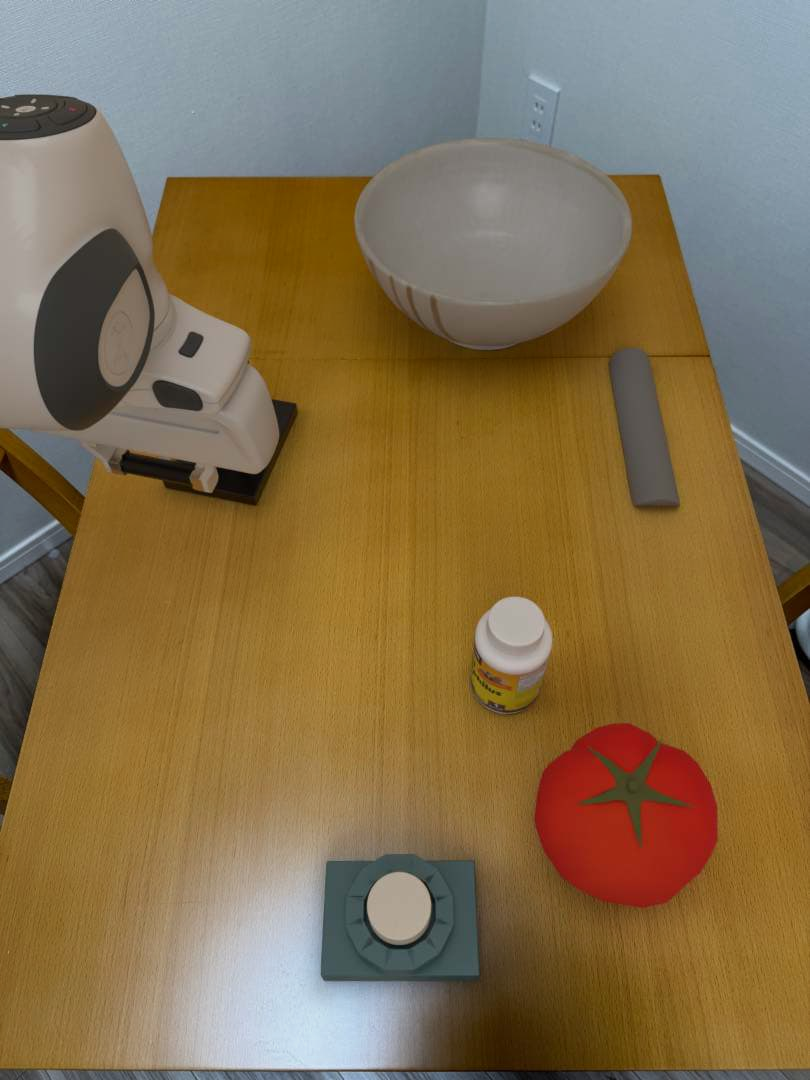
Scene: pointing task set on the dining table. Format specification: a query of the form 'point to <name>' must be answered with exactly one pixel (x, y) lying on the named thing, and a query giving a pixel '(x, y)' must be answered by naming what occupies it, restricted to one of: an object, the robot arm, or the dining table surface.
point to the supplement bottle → (510, 655)
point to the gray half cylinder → (642, 430)
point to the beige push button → (399, 908)
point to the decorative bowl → (491, 238)
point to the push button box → (429, 958)
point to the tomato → (626, 816)
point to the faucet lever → (158, 468)
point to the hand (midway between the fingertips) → (164, 476)
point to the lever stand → (241, 483)
